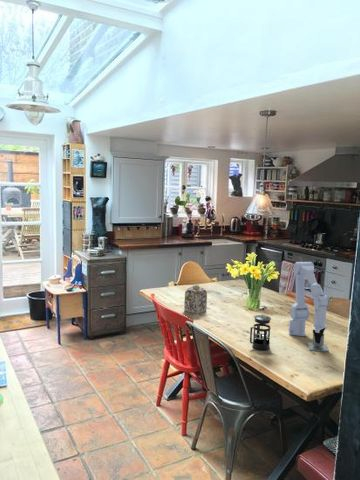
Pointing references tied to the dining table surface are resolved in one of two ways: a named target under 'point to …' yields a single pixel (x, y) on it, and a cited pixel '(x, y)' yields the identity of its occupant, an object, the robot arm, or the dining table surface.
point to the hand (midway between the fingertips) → (318, 341)
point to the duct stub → (318, 348)
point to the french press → (261, 339)
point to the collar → (320, 341)
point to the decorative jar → (195, 300)
